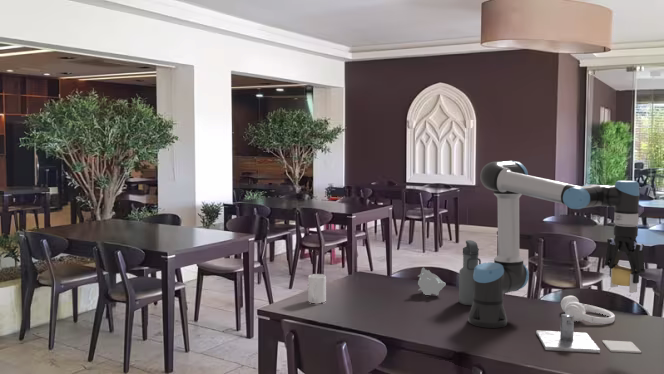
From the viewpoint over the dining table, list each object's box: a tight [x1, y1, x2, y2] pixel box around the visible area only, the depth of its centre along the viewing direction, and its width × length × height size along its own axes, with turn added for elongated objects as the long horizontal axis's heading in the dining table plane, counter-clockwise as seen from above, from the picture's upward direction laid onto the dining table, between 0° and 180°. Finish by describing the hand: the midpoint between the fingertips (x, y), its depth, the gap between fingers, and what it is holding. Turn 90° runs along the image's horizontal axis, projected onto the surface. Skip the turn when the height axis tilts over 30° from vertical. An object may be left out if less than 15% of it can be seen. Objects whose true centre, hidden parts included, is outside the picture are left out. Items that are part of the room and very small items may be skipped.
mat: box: [601, 339, 642, 354], centre depth 210 cm, size 10×10×1 cm
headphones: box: [560, 295, 616, 325], centre depth 244 cm, size 20×8×20 cm
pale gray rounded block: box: [307, 273, 327, 303], centre depth 266 cm, size 8×12×12 cm
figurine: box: [417, 267, 446, 296], centre depth 281 cm, size 10×15×14 cm
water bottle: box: [458, 239, 482, 307], centre depth 266 cm, size 10×10×28 cm
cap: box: [612, 264, 632, 287], centre depth 207 cm, size 8×8×6 cm
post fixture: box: [535, 313, 601, 354], centre depth 214 cm, size 18×18×10 cm
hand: (623, 289), depth 208 cm, fingers closed on cap, 7 cm apart
